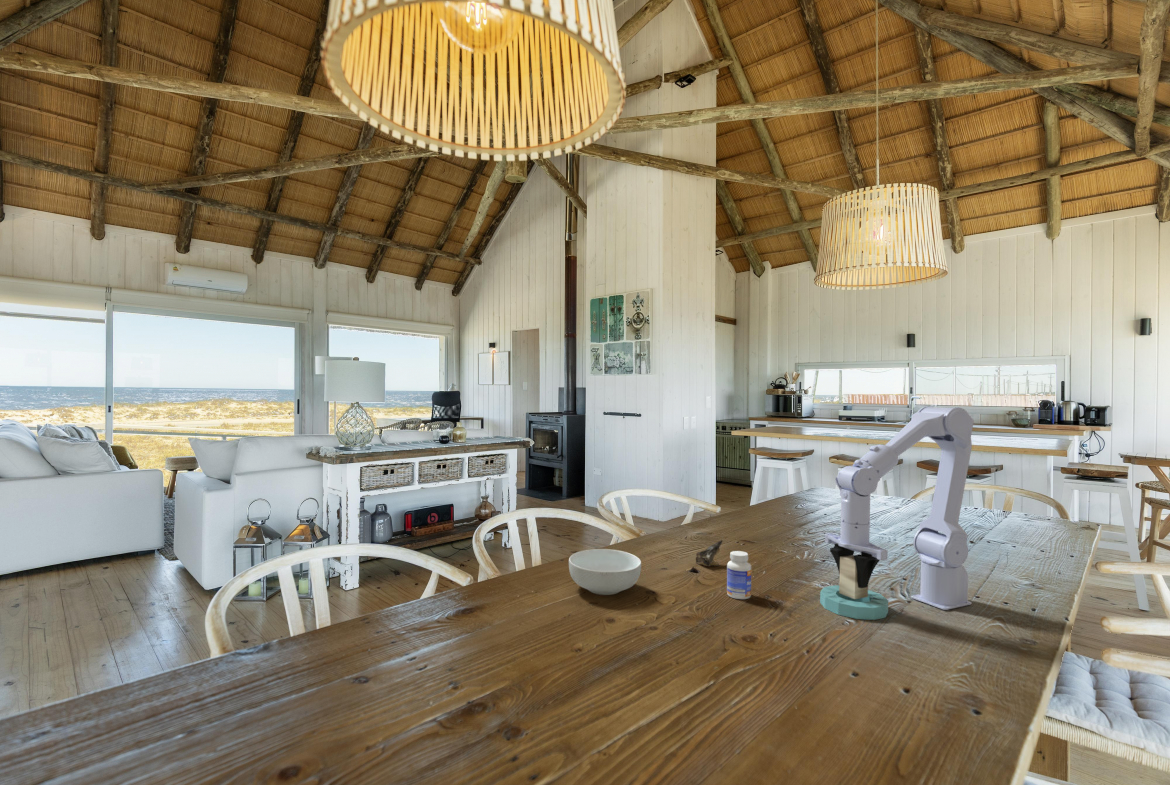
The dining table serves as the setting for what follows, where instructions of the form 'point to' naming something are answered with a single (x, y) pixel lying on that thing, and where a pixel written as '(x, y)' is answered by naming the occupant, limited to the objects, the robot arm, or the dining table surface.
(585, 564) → the cereal bowl
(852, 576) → the ash peg
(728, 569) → the pill bottle
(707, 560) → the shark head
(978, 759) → the dining table surface
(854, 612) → the bead ring
